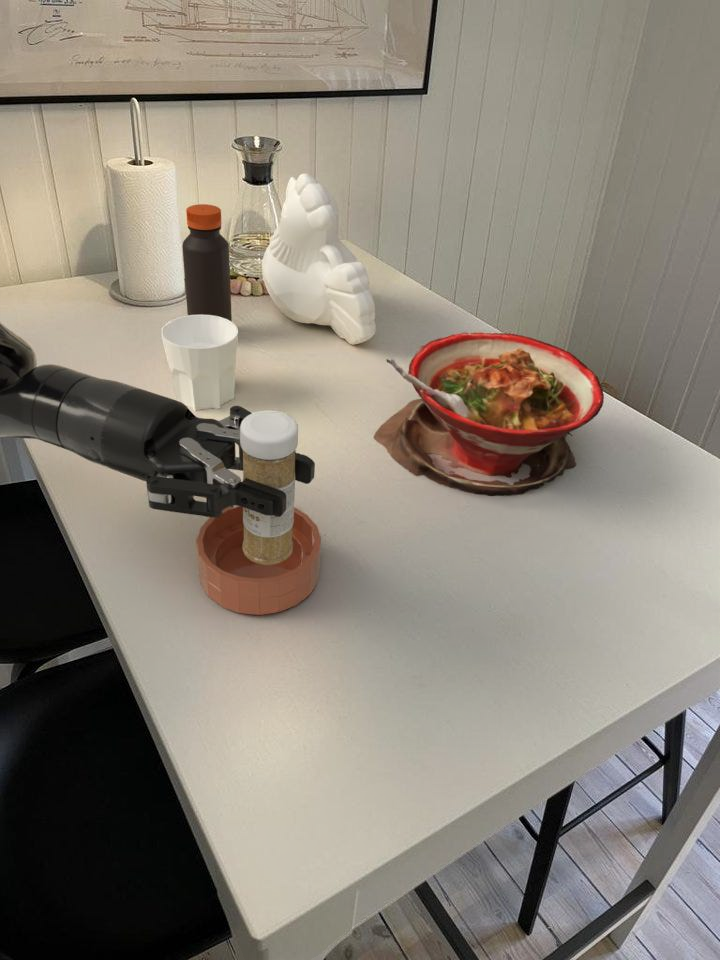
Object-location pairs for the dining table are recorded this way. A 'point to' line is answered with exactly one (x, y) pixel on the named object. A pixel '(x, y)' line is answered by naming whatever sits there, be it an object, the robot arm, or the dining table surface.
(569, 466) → the stew
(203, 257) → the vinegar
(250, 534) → the sprinkles bottle
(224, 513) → the bowl
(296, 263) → the decorative rooster
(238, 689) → the dining table surface
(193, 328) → the cup
